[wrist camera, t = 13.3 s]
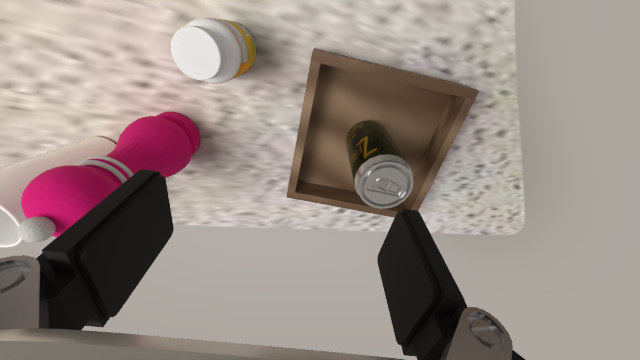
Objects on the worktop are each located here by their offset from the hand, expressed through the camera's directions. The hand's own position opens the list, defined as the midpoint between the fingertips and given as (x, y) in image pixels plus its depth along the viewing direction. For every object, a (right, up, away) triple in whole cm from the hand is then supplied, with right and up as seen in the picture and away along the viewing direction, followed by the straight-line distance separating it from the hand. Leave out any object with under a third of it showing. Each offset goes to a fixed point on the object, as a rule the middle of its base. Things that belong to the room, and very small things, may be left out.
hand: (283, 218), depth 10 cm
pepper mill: (-18, +8, +24) cm, 31 cm away
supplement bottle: (-8, +17, +19) cm, 26 cm away
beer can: (+7, +7, +23) cm, 25 cm away
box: (+8, +7, +23) cm, 26 cm away
